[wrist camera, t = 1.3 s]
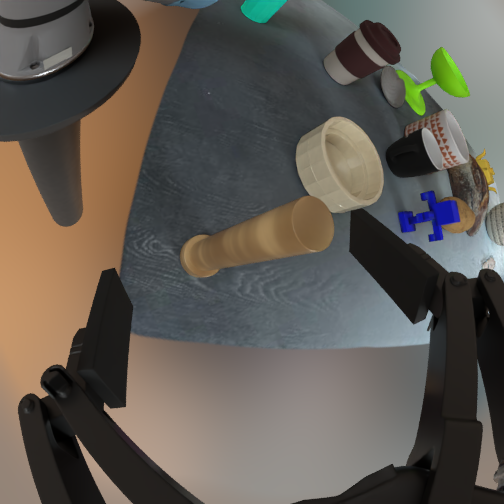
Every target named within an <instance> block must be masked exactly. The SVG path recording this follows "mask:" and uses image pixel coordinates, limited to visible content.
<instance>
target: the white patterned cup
mask: <svg viewBox="0 0 504 504" xmlns="http://www.w3.org/2000/svg"><path fill="white" fill-rule="evenodd" d="M421 128H427V129H428V130H429V131H430V132H431V133H432V134H433V136H434V137H435V139H436V141H437V143H438V145H439V148H440V151H441V154H442V159H443V168H442V169H441V170H445V169H448V168H451V167H454V166H458V165H461V164H464V163H467V162H468V161H469V152H468V147H467V143H466V140H465V138H464V135H463V133H462V130H461V128H460V126H459V124H458V122H457V120H456V119H455V117H454V116H453V114H452V113H451V112H450V111H449V110H447V109H445V110H442V111H440V112H437V113H435V114H433V115H430V116H428V117H425V118H423V119H421V120H418V121H416V122H414V123H411V124H409V125H407V126H406V128H405V136H406V135H408V134H410V133H412V132H414V131H416V130H418V129H421ZM441 170H440V171H441ZM437 172H438V171H437ZM433 173H435V172H433ZM429 174H432V173H429ZM426 175H428V174H426Z"/></svg>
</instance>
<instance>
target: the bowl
mask: <svg viewBox="0 0 504 504" xmlns="http://www.w3.org/2000/svg"><path fill="white" fill-rule="evenodd" d="M296 164H297V169H298V174H299V176H300V179H301V181H302V183H303V186H304V188H305V189H306V190H307V192H308V193H309V195H310V196H314V197H317V198H318V199H320V200H321V201H323V202H324V203H325V205H326V206H327V207H328V209H329V211H330V212H333V213H344V212H348V211H351V210H355V209H358V208H361V207H365V206H368V205H371V204H373V203H375V202H376V201H377V200H378V199H379V197H380V195H381V193H382V189H383V183H384V179H383V169H382V165H381V161H380V158H379V155H378V153H377V151H376V148H375V146H374V145H373V143H372V142H371V140H370V138H369V137H368V136H367V134H366V133H365V132H364V131H363V130H362V129H361V128H360V127H359V126H358V125H357V124H355V123H354V122H352V121H351V120H349V119H346V118H343V117H332V118H330V119H328V120H327V121H325V122H324V123H322V124H320V125H319V126H317V127H315V128H314V129H312V130H310V131H309V132H307V133H306V134H305V135H303V136H302V137H301V139H300V141H299V143H298V145H297V149H296Z"/></svg>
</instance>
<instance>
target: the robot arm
mask: <svg viewBox="0 0 504 504" xmlns="http://www.w3.org/2000/svg"><path fill="white" fill-rule="evenodd" d="M145 1H152V2H157V3H161V4H163V5H165V6H174V5H175V6H181V7H186V8H191V9H199V8H204V7H207V6H210V5H212V4H213V3H215V2H217V1H218V0H145ZM93 31H94V23H93V19H92V16H91V11H90V7H89V3H88V0H0V80H1V81H3V82H5V83H9V84H14V85H27V84H33V83H38V82H42V81H45V80H48V79H50V78H53V77H55V76H57V75H59V74H61V73H63V72H64V71H66V70H68V69H69V68H70V67H72V66H73V65H74V64H76V63H77V62H78V61H79V60H80V59H81V58H82V57H83V56H84V54H85V53H86V52H87V50H88V49H89V47H90V44H91V41H92V37H93ZM349 252H350V253H351V254H352V255H353V256H354V257H355V258H356V259H357V260H358V262H359V263H360V264H361V265H362V266H363V267H364V268H365V269H366V270H367V271H368V273H369V274H370V275H371V276H372V277H373V278H374V279H375V280H376V281H377V283H378V284H379V285H380V286H381V287H382V288H383V289H384V290H385V292H386V293H387V294H388V295H389V296H390V297H391V299H392V300H393V301H394V302H395V303H396V304H397V306H398V307H399V308H400V309H401V310H402V311H403V313H404V314H405V315H406V316H407V317H408V319H409V320H410V321H411V322H412V323H413V325H414V324H416V323H418V322H420V321H422V320H424V319H425V318H426V316H427V313H428V310H430V312H431V313H432V314H433V315H432V318H431V321H430V323H429V326H428V329H427V331H429V330H430V328H431V332H430V349H429V360H428V370H427V378H426V386H425V393H424V399H423V405H422V412H421V417H420V422H419V428H418V432H417V437H416V441H415V445H414V447H413V449H412V452H411V454H410V455H409V458H408V461H407V464H406V466H401V467H394V466H393V464H391V465H389V466H387V467H385V468H383V469H381V470H379V471H377V472H375V473H372V474H370V475H368V476H366V477H365V478H363V479H362V480H360V481H359V482H358V483H356V484H355V485H353V486H352V487H351V488H349V489H348V490H347V491H345V492H343V493H342V494H340V495H338V496H334V497H327V498H319V499H309V500H302V501H299V502H296V503H292V504H504V282H503V281H502V279H501V277H500V276H499V274H498V273H497V272H495V271H494V270H492V269H487V268H485V269H482V270H480V272H479V275H478V278H471V279H467V277H466V276H464V275H463V274H461V273H458V272H450V273H449V272H447V271H446V270H445V269H444V268H443V267H442V266H441V265H440V264H438V263H437V262H436V261H435V260H434V259H433V258H431V257H430V256H429V255H428V254H426V252H424V251H423V250H422V249H421V248H420V247H418V246H416V245H414V244H411V243H409V244H406V243H405V242H404V241H403V240H402V239H400V238H399V237H398V236H397V235H395V234H394V233H393V232H392V231H391V230H389V229H388V228H387V227H386V226H384V225H383V224H382V223H381V222H379V221H378V220H377V219H375V218H374V217H373V216H372V215H370V214H369V213H368V212H366V211H365V210H364V209H363V208H360V209H356V210H351V221H350V249H349ZM488 311H489V313H488ZM132 312H133V305H132V303H131V301H130V299H129V297H128V295H127V293H126V291H125V289H124V287H123V285H122V282H121V280H120V278H119V276H118V274H117V272H116V270H115V268H112V269H108V270H104V271H102V273H101V277H100V280H99V283H98V286H97V290H96V294H95V297H94V300H93V304H92V307H91V311H90V315H89V318H88V322H87V326H86V328H81V329H79V330H78V331H77V333H76V334H75V336H74V338H73V342H72V348H71V349H70V355H69V358H68V362H67V366H66V369H65V368H64V367H63V366H62V365H53V366H51V367H49V368H48V369H47V370H46V371H45V372H44V373H43V375H42V377H41V382H40V383H41V387H42V388H43V389H44V390H45V391H46V392H47V393H48V394H49V395H48V396H46V397H44V398H42V399H40V398H39V397H37V396H36V395H35V394H31V393H30V394H27V395H26V396H24V397H23V398H22V399H21V401H20V403H19V406H18V414H19V420H20V426H21V430H22V436H23V440H24V445H25V449H26V453H27V457H28V461H29V465H30V469H31V472H32V476H33V479H34V482H35V485H36V488H37V491H38V494H39V497H40V500H41V503H42V504H106V503H105V501H104V499H103V497H102V495H101V493H100V491H99V489H98V487H97V485H96V483H95V481H94V479H93V477H92V475H91V472H90V470H89V468H88V466H87V464H86V461H85V459H84V456H83V454H82V452H81V449H80V446H79V444H78V442H77V439H76V436H75V435H77V437H78V438H79V439H80V441H81V442H82V444H83V445H84V447H85V448H86V449H87V450H88V452H89V453H90V455H91V456H92V457H93V458H94V460H95V461H96V462H97V463H98V465H99V466H100V467H101V468H102V470H103V471H104V472H105V473H106V474H107V476H108V477H109V478H110V479H111V480H112V482H113V483H114V484H115V485H116V486H117V487H118V488H119V489H120V490H121V491H122V493H123V494H124V495H125V496H126V497H127V498H128V499H129V500H130V501H131V502H132V503H133V504H204V503H203V502H201V501H200V500H199V499H198V498H196V497H195V496H194V495H192V494H191V493H190V492H188V491H187V490H186V489H185V488H184V487H182V486H181V485H180V484H179V483H177V482H176V481H175V480H174V479H173V478H171V477H170V476H169V475H168V474H167V473H166V472H165V471H163V470H162V469H161V468H160V467H159V466H158V465H157V464H156V463H155V462H154V461H152V460H151V459H150V458H149V457H148V456H147V455H146V454H145V453H144V452H143V451H142V450H141V449H140V448H139V447H138V446H137V445H136V444H135V443H134V442H133V441H132V440H131V439H130V438H129V437H128V436H127V435H126V434H125V433H124V432H123V431H122V430H121V428H120V427H119V426H118V425H117V424H116V423H115V422H114V421H113V420H112V418H111V417H110V416H109V415H108V414H107V413H106V412H105V411H104V402H105V403H106V404H107V405H108V407H110V408H120V407H126V387H127V367H128V353H129V341H130V331H131V321H132ZM477 359H478V363H479V367H480V370H481V374H482V378H483V383H484V387H485V392H486V396H487V401H488V406H489V412H490V417H491V423H492V430H493V438H494V444H495V450H496V454H497V458H498V461H499V467H498V470H497V471H496V472H495V474H494V481H495V482H496V483H498V488H497V490H493V489H488V488H485V487H481V486H477V485H475V482H476V476H477V471H478V465H479V458H480V451H481V441H482V432H483V429H482V428H483V427H482V423H481V422H480V421H477V418H476V413H477V388H478V383H477V382H478V369H477Z"/></svg>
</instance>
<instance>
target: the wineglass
mask: <svg viewBox="0 0 504 504" xmlns="http://www.w3.org/2000/svg"><path fill="white" fill-rule="evenodd" d="M431 71H432V75H433V78H432V79H430V80H428V81H426V82H424V83H421V84H419V85H415V83H414V82H413V80H412V79H411V78H410V77H409V76H408V75H407V74H406V73H405V72H403V71H401V70H396V72H397V74H398V76H399V78H401V79H403V80H404V83H405V89H406V96H405V99H406V101H407V102H408V104H409V105H410V106H411V108H412V109H413V110H414V111H415V112H416V113H417V114H419V115H421V116H422V115H424V113H425V103H424V100H423V97H422V95H421V93H420V92H421V90H423V89H426V88H428V87H430V86H432V85H434V84H438V85H439V86H440V87H441V88H442V89H443V90H444V91H445V92H447V93H449V94H450V95H453V96H455V97H468V96H470V93H469V90H468V87H467V85H466V83H465V80H464V78H463V76H462V75H461V73H460V71H459V69H458V68H457V66H456V64H455V63H454V61H453V60H452V58H451V57H450V55H449V54H448V53H447V52H446V50H445V49H444V48H443V47H440V48H439V49H438V50H436V52H435V53H434V54H433V57H432V60H431Z"/></svg>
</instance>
